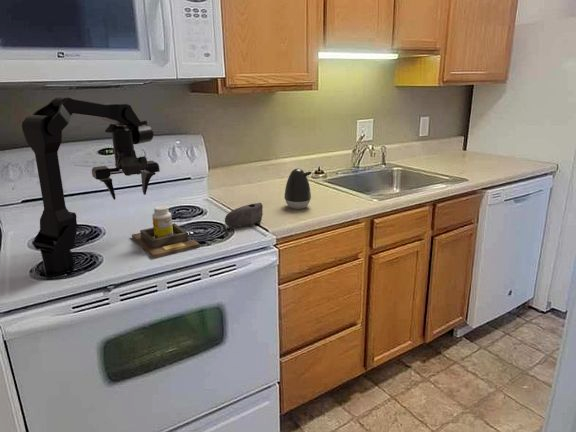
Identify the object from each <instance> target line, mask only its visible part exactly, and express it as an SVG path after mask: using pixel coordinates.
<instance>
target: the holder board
mask: <svg viewBox="0 0 576 432" xmlns="http://www.w3.org/2000/svg"><path fill="white" fill-rule="evenodd" d="M172 227H173V235H171V236H166V237H162V238H157V239H155V236H154V227H153V226H152V227H149V228H144V229H141V230H139V232H138V233H133V234H131V239H133V240H134V241H135V242H136V243H137V244H138V245H139V246H140V247H141V248H143V249H144V251H145V252H147V254H149V256H151V257H152V258H153V259H156V258H157V259H158V258H161V257H164V256H170V255H173V254H177V252H178V253H182V252H185V250H186V251H189V249H190V250H193V248H194V249H197V248H196V247H198V248H200V245H201V244H200V243H199V242H198V241H196V240H195V239H193V240H191V239H190V240H189V237H190V236H189V232H187V231H186V230H184V229H183V228H181V227H180V226H179V225H177V224H176V223H173V222H172ZM174 233H175V235H174ZM188 236H189V237H188ZM181 251H182V252H181ZM169 254H170V255H169Z"/></svg>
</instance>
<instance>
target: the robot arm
mask: <svg viewBox="0 0 576 432" xmlns="http://www.w3.org/2000/svg"><path fill="white" fill-rule="evenodd" d="M73 115H79V116H85V117H94V118H98V119H101V120H103V122H104V121H105V122H107V123H110V124H109V125H108V127H107V128H106V129H105V130H104V132H105V133H108V134H111V140H112V146H113V149H112V151H113V154H114V162H115V163H114V165H115V166H114V167H111V168H109V167H107V166H106V165H102V166H95V167H92V168H91V175H92V177H93V178H94V179H95V180H98V181H100V182H102V183H104V185H105V187H106V189H107V190H108V192H109V194H110V195H111V198H112V199H113V200H115V201H116V194H115V190H114V189H115V188H114V186H113V178H112V177H111V176H112V175H118V174H124V175H125V176H127V177H129V176H133V175H141V176H140V177H141V178H140V179H141V186H142V187H141V188H142V189H141V190H142V193H143V195H144V196H146V195H147V190H148V187H149V184H150V180H151V178H152V177H153V176H155V175H156V173H159V172H161V171H160V170H161V168H160V165H159V163H158V162H157V161H154V160H148V158H147V156H139V157H137V154H136V153H137V152H136V150H135V148H134V147H135V145H138V144H139V145H140V144H145V143H149V142H151V141H152V140H153V139H154V131H153V129H152V127H151V126H150V125H149V124H148V121H147V120H142V119H141V120H140V119H139V117H138V116H137V114H136V112H135V111H134V110H133V107H132V105H131V104H129V103H119V102H118V103H117V102H115V103H113V102H110V103H99V102H91V101H86V100H82V99H81V100H79V99H74V98H71V97H63V96H62V97H60V96H56V97H55V98H53V99H52V100H51V101H50V102H49V103H48V104H46V105H44V106H41V107H40V108H39V109H38V110H35V111H34V113H32V114H31V115H28V116H26V117H25V118H24V120H22V123H21V129H22V133H23V136H24V138H25V141H26V143H27V145H28V146H29V148H31V150H32V152H33V153H34V156H35V162H36V168H37V173H38V174H37V175H38V179H39V186H40V191H41V197H42V204H43V211H42V213H41V216H40V218H39V231H38V232H37V234H36V236H35V237H34V239H33V241H32V246H33V247H34V249H35V250H40V256H41V260H42V265H43V267H42V269H43V270H42V271H44V272H43V273H44V274H45V277H46V278H52V277H56V276H60V275H63V274H62V273H64V274H66V273H65V272H68V271H73V270H74V271H75V260H74V255H73V252H72V250H73V249H74V248H75V239H76V236H77V233H78V231H77V230H78V229H77V228H79V225H78V221H77V214H76V212H72V211H69V210H68V209H67V206H66V199H65V194H64V193H65V192H64V188H63V187H64V186H63V181H62V174H61V169H60V168H61V167H60V161H59V154H58V153H59V149H60V146H61V144H62V142H63V130H64V129H65V128H66V127H67V126H68V125H69V122H70V119H71V116H73ZM74 271H73V272H74ZM59 274H60V275H59Z"/></svg>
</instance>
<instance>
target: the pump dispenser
mask: <svg viewBox="0 0 576 432" xmlns="http://www.w3.org/2000/svg"><path fill="white" fill-rule="evenodd" d="M310 175H312V171H307V172H305V171H304V170H303V169H301V168H295V169H293V170H292V171H291V172H290V173H289V175H288V178H287V181H286V184H285V187H284V200H285V203H286V204H287V206H288V207H289V208H290V209H294V210H303V209H304V208H307V207H308V206H309V204H310V201H311V200H312V193H311V191H312V190H311V186H310V182H309V179H308V176H310Z"/></svg>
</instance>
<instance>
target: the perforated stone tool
mask: <svg viewBox="0 0 576 432" xmlns="http://www.w3.org/2000/svg"><path fill="white" fill-rule="evenodd" d="M263 207H264V206H263V203H262V202H257V203H250V204H246V205H242V206H239V207H237V208H235V209H233V210H230V212H228V213H227V214H226V216H225V217H224V224H225V226H227V227H229V228H240V227H247V226H252V225H255V224H259V223H261V222H262V220H263V215H264V214H263Z"/></svg>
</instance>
